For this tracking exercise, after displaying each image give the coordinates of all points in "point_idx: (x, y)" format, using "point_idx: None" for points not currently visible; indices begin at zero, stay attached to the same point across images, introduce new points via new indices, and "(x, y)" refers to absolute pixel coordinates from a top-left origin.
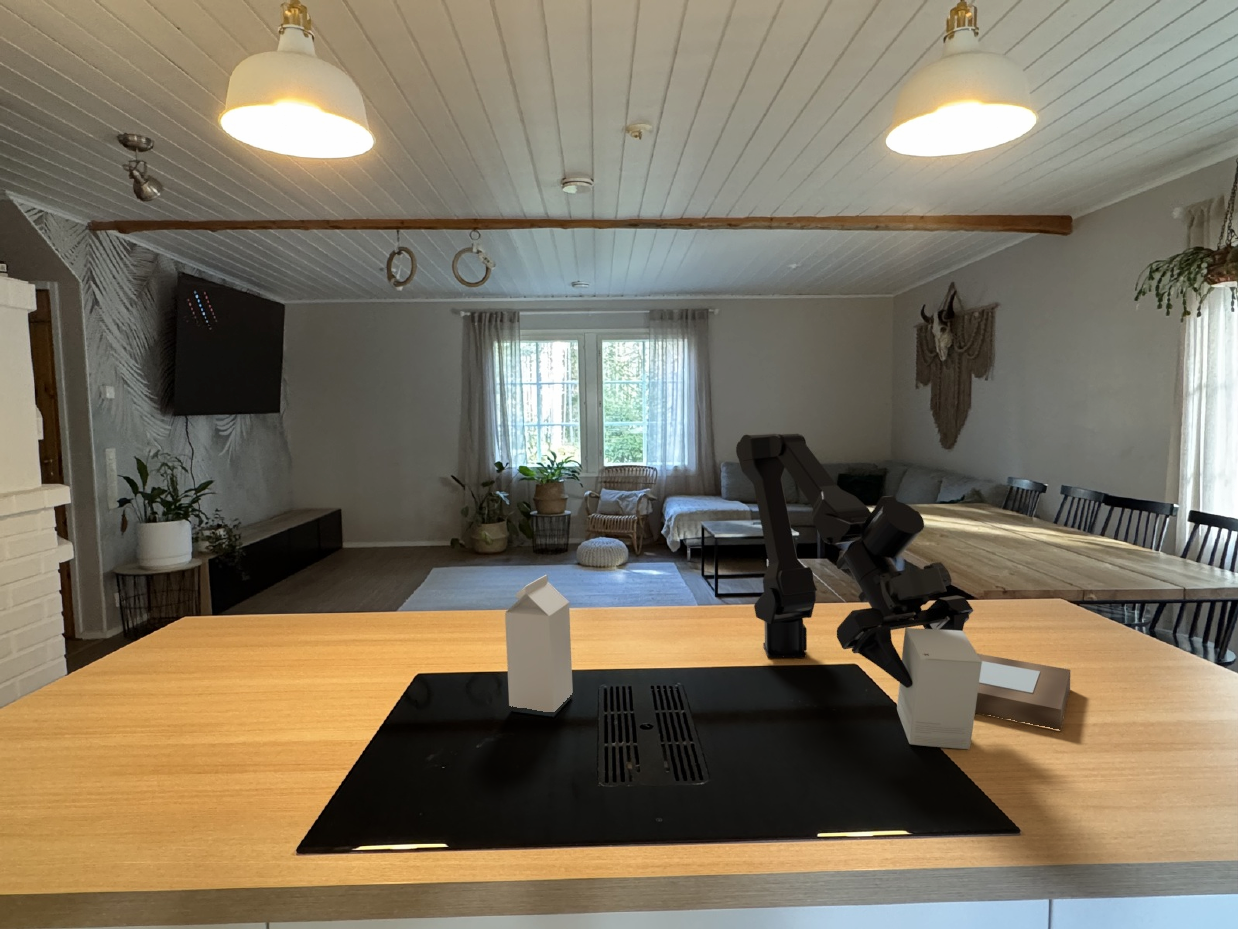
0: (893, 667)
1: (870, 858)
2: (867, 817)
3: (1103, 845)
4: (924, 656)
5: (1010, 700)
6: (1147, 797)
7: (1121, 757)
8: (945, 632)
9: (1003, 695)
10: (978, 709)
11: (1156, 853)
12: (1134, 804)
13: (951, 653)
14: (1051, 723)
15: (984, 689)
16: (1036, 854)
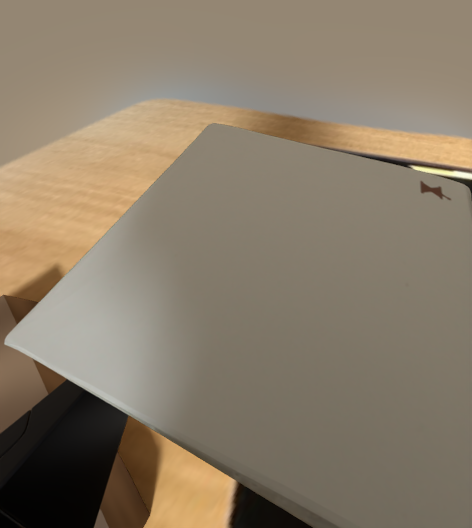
0: None
1: (467, 145)
2: None
3: (235, 120)
4: (444, 185)
5: (38, 367)
6: (119, 160)
7: (49, 224)
8: (168, 352)
9: (29, 392)
10: None
11: (203, 106)
12: (145, 154)
13: (300, 169)
14: None
15: None
16: (304, 122)
